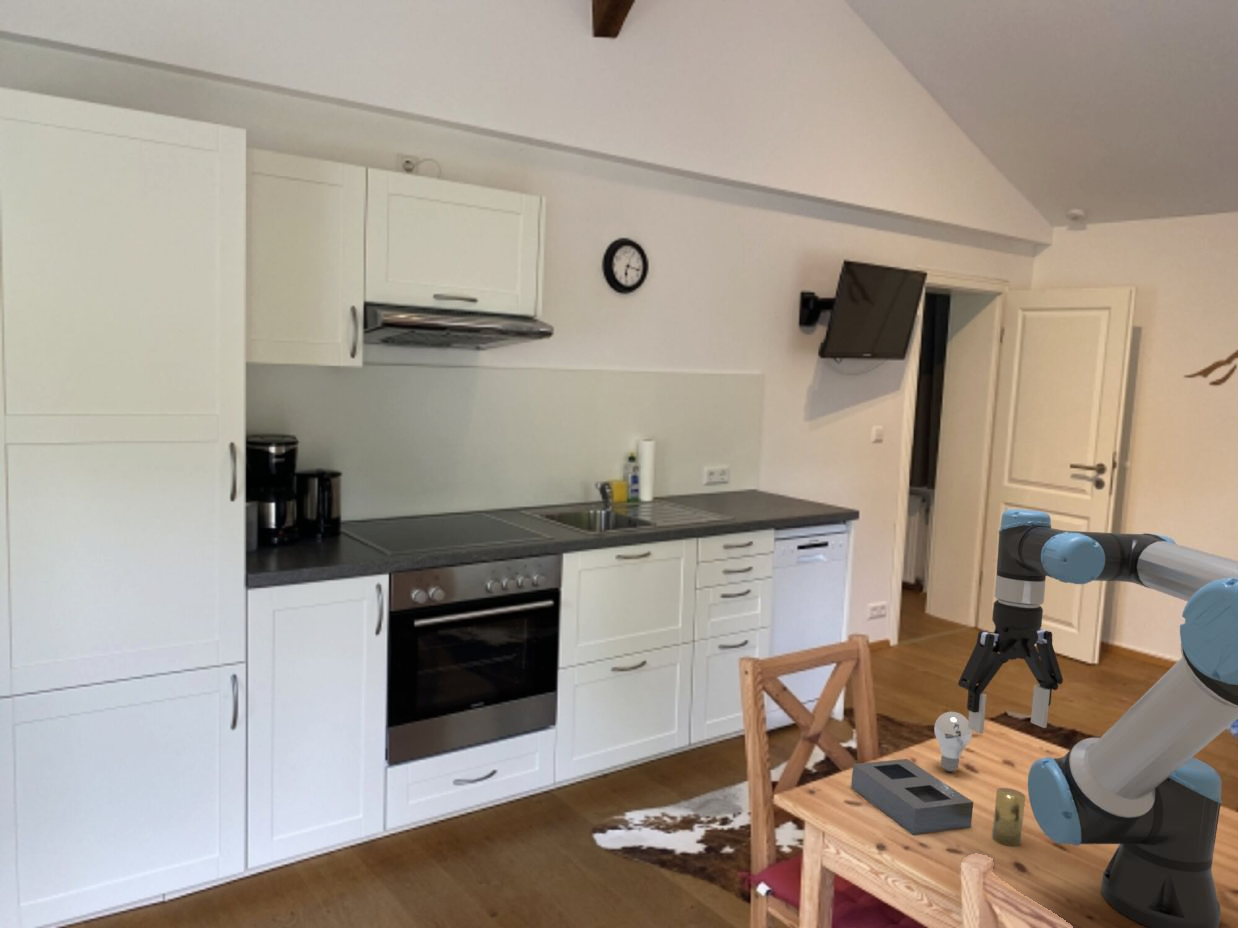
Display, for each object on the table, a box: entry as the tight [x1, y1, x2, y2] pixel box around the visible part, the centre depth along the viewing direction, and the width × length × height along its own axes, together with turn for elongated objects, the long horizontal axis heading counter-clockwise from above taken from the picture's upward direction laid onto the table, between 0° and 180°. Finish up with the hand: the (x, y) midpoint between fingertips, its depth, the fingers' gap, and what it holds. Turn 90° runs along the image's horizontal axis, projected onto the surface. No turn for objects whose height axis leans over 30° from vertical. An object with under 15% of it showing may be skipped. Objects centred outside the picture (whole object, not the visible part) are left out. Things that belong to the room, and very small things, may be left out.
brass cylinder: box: [991, 787, 1026, 847], centre depth 152 cm, size 4×4×8 cm
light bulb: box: [933, 711, 973, 774], centre depth 178 cm, size 7×7×12 cm
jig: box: [850, 758, 974, 836], centre depth 162 cm, size 18×12×4 cm, turn 20°
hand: (1007, 727), depth 152 cm, fingers open, 13 cm apart
